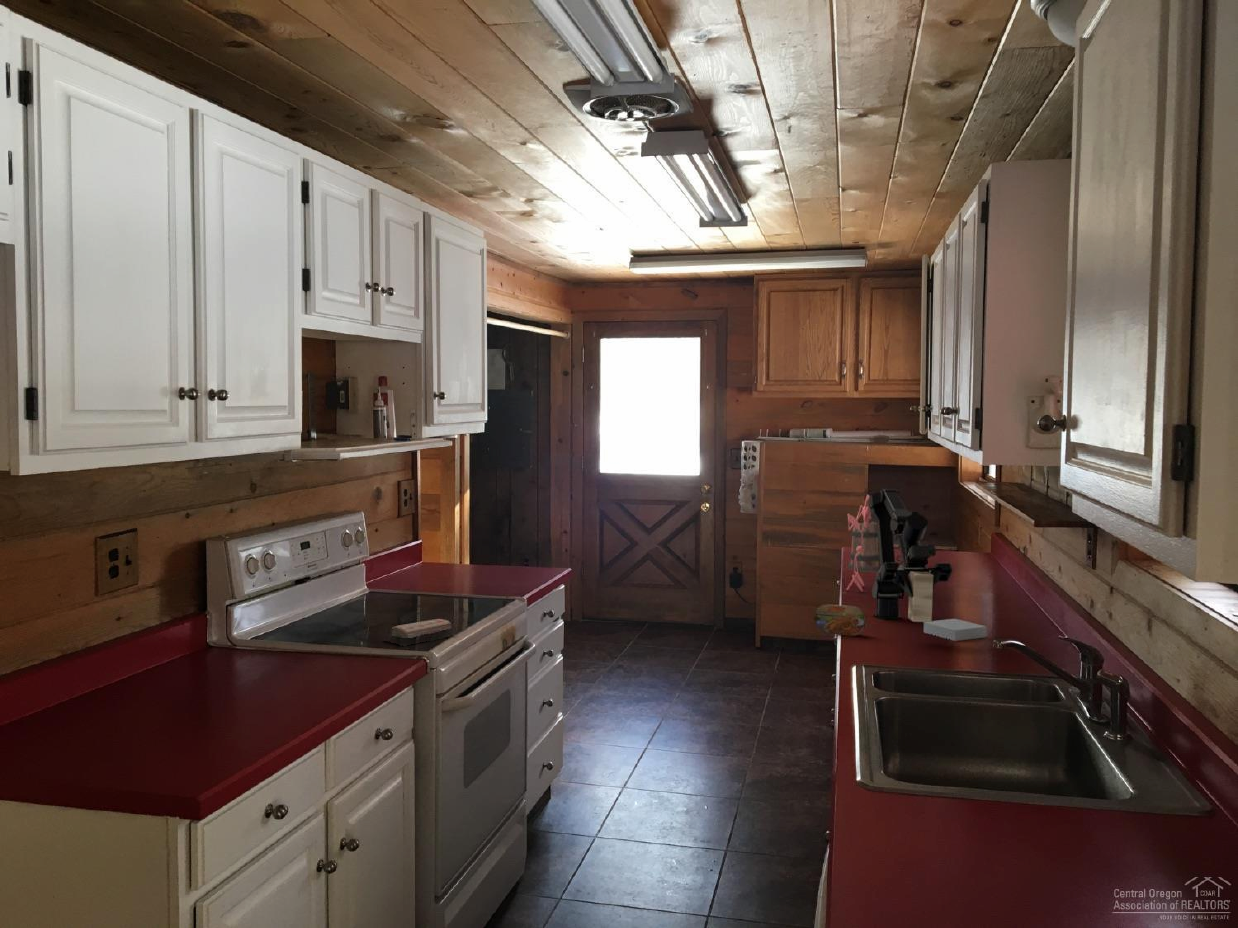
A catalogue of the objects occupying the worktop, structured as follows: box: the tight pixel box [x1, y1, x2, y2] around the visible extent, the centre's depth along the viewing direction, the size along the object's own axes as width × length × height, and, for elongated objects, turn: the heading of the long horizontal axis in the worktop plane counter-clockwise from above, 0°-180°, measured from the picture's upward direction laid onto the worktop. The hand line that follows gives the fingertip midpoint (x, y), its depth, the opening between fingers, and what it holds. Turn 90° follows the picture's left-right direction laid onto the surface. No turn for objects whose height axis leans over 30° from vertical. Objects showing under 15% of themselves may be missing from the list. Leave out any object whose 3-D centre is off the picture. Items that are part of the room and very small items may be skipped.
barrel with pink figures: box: [841, 494, 872, 594], centre depth 343 cm, size 15×26×35 cm, turn 160°
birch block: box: [907, 572, 934, 623], centre depth 262 cm, size 5×5×13 cm
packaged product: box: [390, 618, 453, 638], centre depth 265 cm, size 18×5×10 cm
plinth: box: [923, 618, 988, 642], centre depth 272 cm, size 12×12×3 cm
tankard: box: [846, 520, 904, 571], centre depth 392 cm, size 24×17×20 cm
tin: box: [813, 604, 868, 637], centre depth 273 cm, size 15×3×8 cm, turn 62°
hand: (922, 596), depth 260 cm, fingers closed on birch block, 5 cm apart
